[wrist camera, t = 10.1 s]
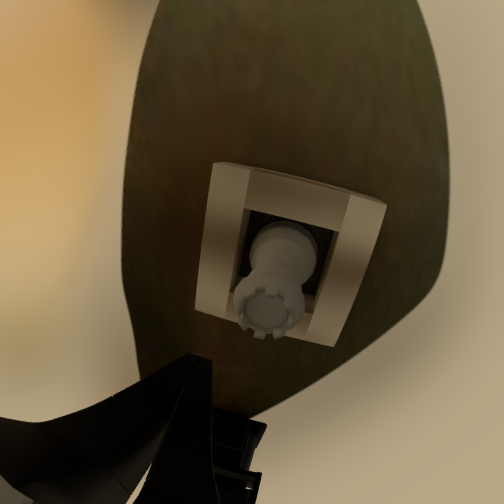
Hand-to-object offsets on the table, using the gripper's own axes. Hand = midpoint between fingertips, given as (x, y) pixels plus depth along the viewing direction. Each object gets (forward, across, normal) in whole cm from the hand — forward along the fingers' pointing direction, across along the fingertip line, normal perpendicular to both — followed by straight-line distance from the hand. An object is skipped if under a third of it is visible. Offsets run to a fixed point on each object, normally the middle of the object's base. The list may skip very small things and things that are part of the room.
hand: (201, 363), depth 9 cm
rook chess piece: (+11, -2, 0) cm, 12 cm away
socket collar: (+11, -2, -1) cm, 11 cm away
